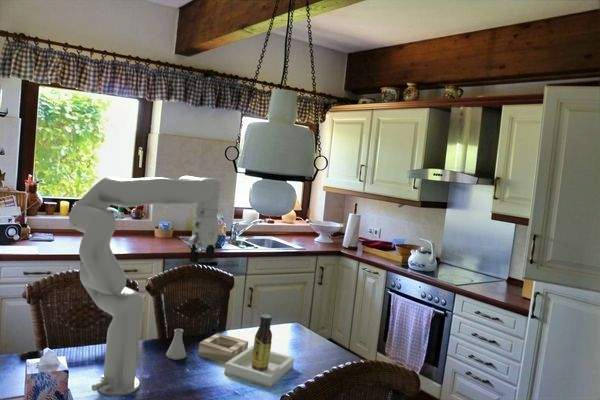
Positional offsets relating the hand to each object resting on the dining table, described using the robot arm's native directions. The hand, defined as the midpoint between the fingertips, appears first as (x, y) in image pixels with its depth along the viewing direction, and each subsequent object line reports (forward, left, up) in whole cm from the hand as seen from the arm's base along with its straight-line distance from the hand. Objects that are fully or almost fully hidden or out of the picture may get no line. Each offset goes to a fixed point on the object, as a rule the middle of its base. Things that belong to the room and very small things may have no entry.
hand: (201, 260), depth 177 cm
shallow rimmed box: (+14, -5, -38) cm, 41 cm away
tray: (+10, -23, -38) cm, 46 cm away
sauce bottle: (+10, -23, -38) cm, 45 cm away
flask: (+2, +8, -39) cm, 39 cm away
